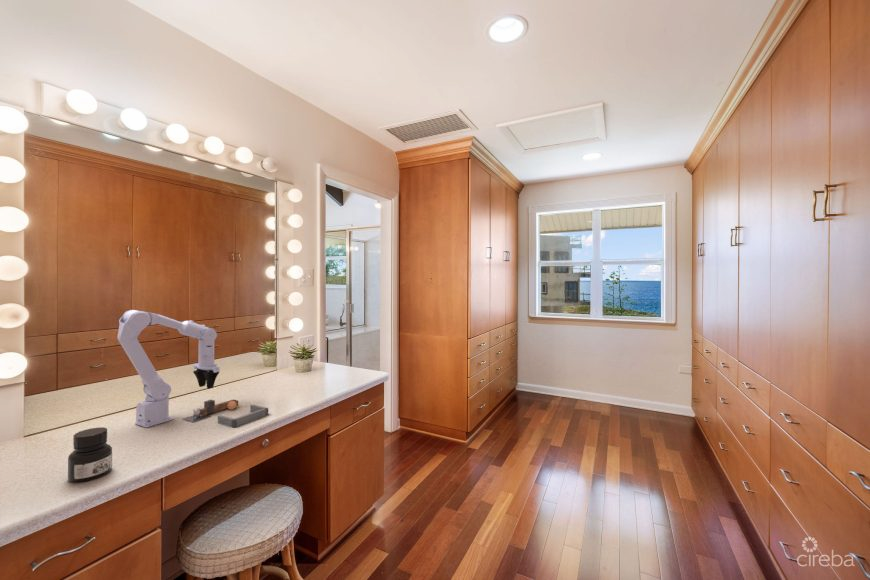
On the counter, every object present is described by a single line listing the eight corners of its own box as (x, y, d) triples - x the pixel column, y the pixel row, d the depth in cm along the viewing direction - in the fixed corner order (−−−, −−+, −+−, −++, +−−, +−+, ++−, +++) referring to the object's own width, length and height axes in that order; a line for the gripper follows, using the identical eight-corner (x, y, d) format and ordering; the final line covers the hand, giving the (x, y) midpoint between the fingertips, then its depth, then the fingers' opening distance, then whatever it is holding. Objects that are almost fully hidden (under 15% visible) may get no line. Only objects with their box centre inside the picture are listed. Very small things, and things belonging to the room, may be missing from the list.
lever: (205, 416, 143) (205, 404, 143) (199, 414, 145) (199, 402, 144) (238, 405, 156) (238, 394, 156) (232, 404, 157) (232, 393, 157)
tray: (233, 427, 133) (233, 420, 133) (217, 423, 137) (217, 416, 137) (268, 414, 147) (268, 408, 147) (252, 411, 151) (253, 404, 151)
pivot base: (193, 422, 138) (193, 413, 138) (182, 419, 141) (182, 410, 141) (211, 416, 144) (211, 408, 144) (200, 413, 147) (200, 405, 147)
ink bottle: (76, 487, 94) (76, 441, 94) (58, 480, 97) (58, 436, 97) (120, 469, 103) (120, 428, 103) (102, 463, 106) (102, 423, 106)
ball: (230, 411, 150) (230, 403, 150) (225, 410, 152) (225, 401, 152) (238, 408, 154) (238, 400, 153) (233, 407, 155) (233, 399, 155)
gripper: (226, 355, 153) (226, 387, 153) (205, 352, 159) (205, 382, 159) (210, 358, 146) (209, 391, 147) (188, 354, 153) (188, 386, 153)
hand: (206, 387), depth 152 cm, fingers open, 5 cm apart
